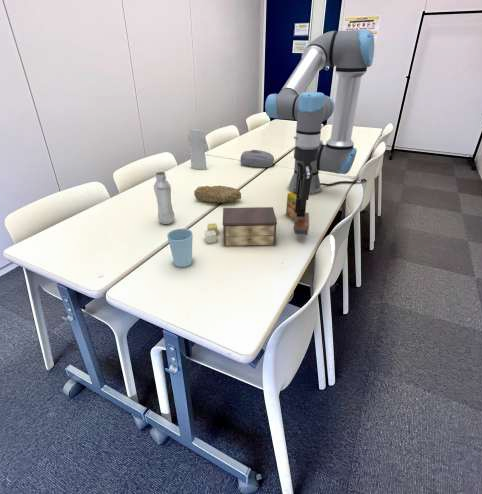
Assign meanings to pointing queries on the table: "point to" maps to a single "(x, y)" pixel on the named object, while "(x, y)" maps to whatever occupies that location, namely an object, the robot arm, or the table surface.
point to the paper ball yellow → (212, 227)
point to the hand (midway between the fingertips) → (299, 214)
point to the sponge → (217, 194)
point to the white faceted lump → (210, 236)
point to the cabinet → (249, 226)
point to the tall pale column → (197, 149)
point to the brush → (301, 224)
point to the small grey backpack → (257, 158)
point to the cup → (181, 246)
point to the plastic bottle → (163, 199)
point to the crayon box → (291, 204)
